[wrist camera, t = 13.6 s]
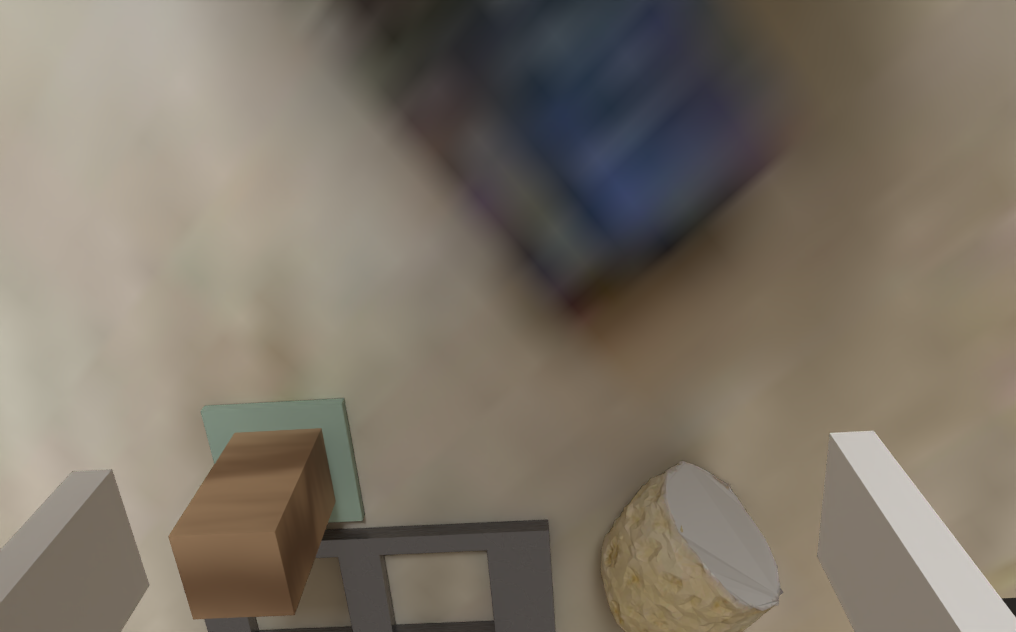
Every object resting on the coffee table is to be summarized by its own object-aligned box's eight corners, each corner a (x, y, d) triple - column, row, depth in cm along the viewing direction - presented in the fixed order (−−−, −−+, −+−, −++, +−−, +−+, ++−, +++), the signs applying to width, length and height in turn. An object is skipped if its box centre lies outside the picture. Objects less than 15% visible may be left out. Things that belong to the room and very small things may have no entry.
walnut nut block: (234, 432, 45) (168, 536, 36) (321, 428, 44) (274, 531, 36) (252, 505, 47) (193, 619, 38) (335, 501, 46) (294, 614, 38)
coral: (861, 575, 40) (743, 738, 39) (741, 502, 49) (644, 631, 49) (746, 472, 37) (614, 646, 36) (642, 414, 46) (536, 551, 45)
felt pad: (204, 405, 45) (200, 411, 44) (343, 398, 44) (341, 403, 44) (234, 520, 48) (230, 527, 47) (364, 514, 48) (362, 520, 47)
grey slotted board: (189, 536, 48) (183, 547, 48) (548, 519, 47) (548, 530, 46) (221, 646, 52) (216, 658, 51) (555, 633, 51) (556, 645, 50)
